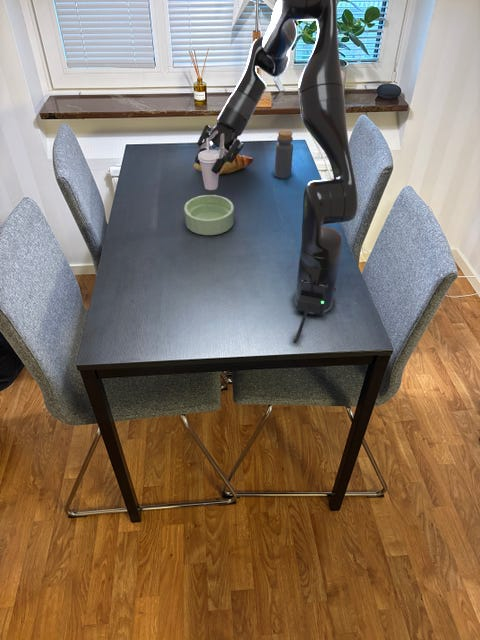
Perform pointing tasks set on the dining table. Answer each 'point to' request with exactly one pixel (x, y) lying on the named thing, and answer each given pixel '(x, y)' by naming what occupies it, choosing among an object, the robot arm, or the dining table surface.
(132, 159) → the dining table surface
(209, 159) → the smoothie
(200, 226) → the bowl
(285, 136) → the bottle
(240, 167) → the croissant
